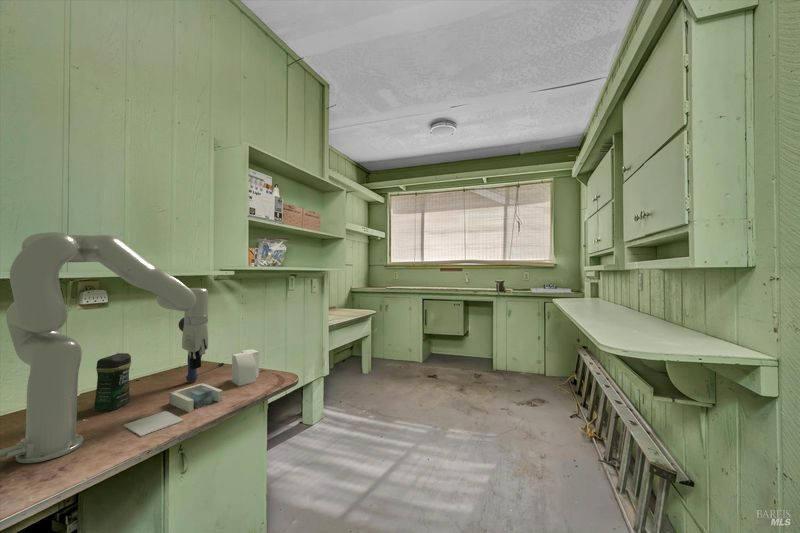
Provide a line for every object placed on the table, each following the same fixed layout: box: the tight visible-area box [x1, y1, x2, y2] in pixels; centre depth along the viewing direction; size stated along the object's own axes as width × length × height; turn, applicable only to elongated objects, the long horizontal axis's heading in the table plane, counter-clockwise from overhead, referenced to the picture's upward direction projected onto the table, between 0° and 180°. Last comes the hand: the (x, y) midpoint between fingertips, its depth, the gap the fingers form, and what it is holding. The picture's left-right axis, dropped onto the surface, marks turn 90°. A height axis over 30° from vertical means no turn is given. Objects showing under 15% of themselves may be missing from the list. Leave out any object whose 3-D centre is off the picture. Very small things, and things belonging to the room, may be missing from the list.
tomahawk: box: [185, 362, 225, 379], centre depth 155 cm, size 21×7×1 cm, turn 166°
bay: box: [168, 382, 223, 413], centre depth 121 cm, size 12×14×4 cm
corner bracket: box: [230, 348, 260, 387], centre depth 146 cm, size 11×11×12 cm
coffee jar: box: [93, 352, 132, 412], centre depth 116 cm, size 10×8×19 cm
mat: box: [123, 410, 185, 438], centre depth 104 cm, size 12×12×1 cm
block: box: [190, 388, 213, 409], centre depth 120 cm, size 5×5×5 cm
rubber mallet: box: [178, 317, 198, 384], centre depth 141 cm, size 12×8×30 cm, turn 8°
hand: (195, 367), depth 123 cm, fingers closed
